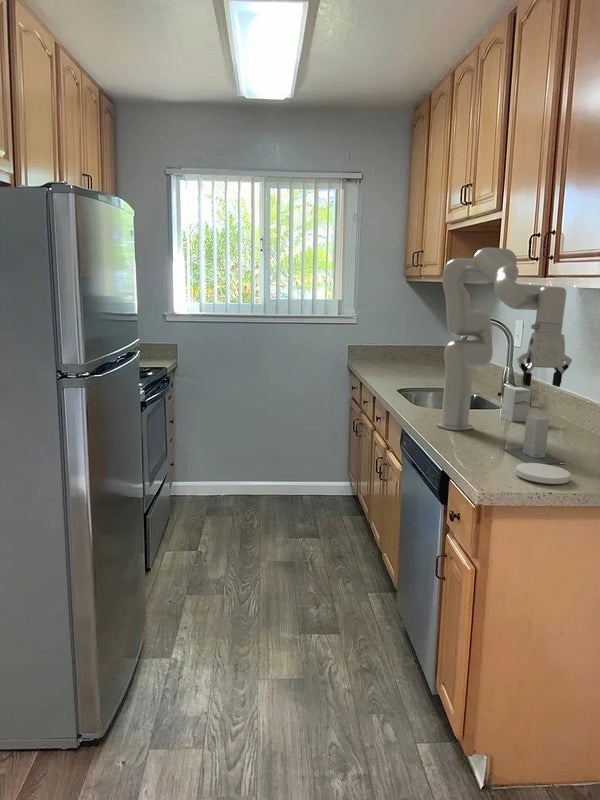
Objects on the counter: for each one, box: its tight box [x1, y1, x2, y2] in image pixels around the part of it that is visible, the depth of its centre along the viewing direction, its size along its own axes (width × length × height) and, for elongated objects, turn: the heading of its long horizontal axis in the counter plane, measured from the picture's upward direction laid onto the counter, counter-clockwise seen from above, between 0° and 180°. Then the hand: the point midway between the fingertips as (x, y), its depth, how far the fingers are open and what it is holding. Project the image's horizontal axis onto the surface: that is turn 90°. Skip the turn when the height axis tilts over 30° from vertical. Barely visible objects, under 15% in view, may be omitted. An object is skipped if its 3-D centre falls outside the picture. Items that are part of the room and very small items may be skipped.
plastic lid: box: [514, 462, 571, 485], centre depth 175 cm, size 14×14×2 cm
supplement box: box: [500, 386, 532, 423], centre depth 249 cm, size 7×7×13 cm
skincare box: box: [522, 414, 550, 458], centre depth 195 cm, size 6×4×12 cm
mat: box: [502, 447, 567, 465], centre depth 196 cm, size 16×12×1 cm
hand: (541, 385), depth 192 cm, fingers open, 9 cm apart
